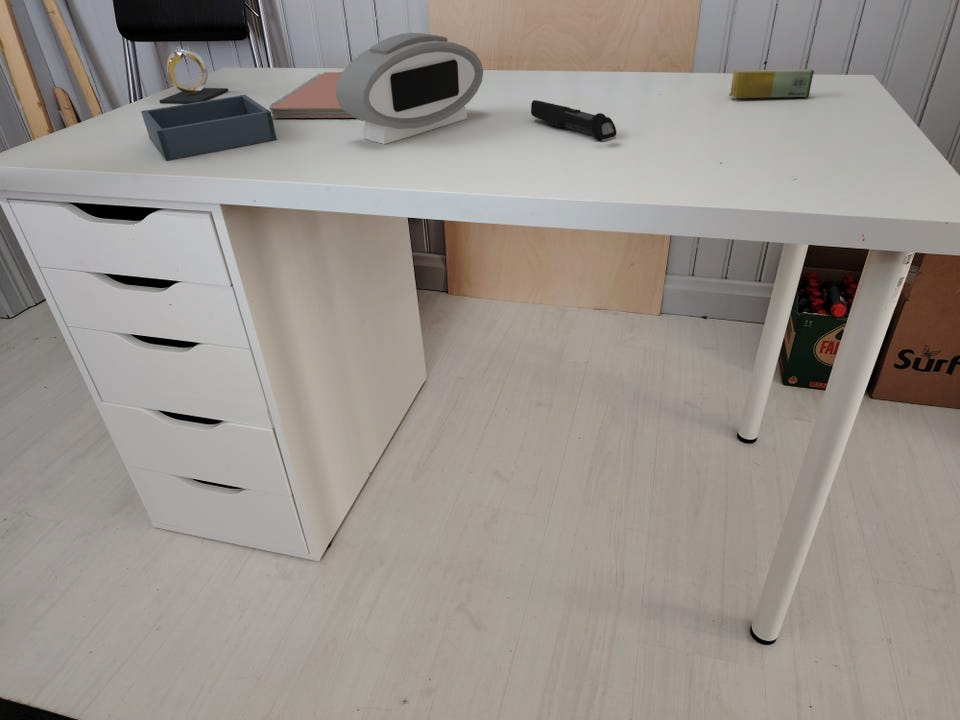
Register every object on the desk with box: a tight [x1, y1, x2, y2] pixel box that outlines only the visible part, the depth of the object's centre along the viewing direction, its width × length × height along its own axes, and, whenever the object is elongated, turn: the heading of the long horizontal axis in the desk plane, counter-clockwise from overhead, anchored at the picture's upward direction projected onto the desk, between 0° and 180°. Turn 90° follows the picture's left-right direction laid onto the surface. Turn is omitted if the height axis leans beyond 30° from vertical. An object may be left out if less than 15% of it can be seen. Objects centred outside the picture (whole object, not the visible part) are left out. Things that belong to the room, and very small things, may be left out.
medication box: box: [728, 68, 815, 99], centre depth 103 cm, size 12×3×4 cm, turn 89°
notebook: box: [269, 71, 356, 119], centre depth 114 cm, size 27×17×2 cm, turn 173°
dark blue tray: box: [140, 94, 277, 162], centre depth 96 cm, size 16×14×4 cm
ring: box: [166, 46, 209, 94], centre depth 118 cm, size 7×3×8 cm, turn 132°
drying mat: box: [158, 87, 229, 105], centre depth 120 cm, size 10×8×1 cm
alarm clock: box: [336, 32, 484, 145], centre depth 94 cm, size 23×6×13 cm, turn 136°
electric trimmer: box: [530, 99, 618, 142], centre depth 94 cm, size 4×16×3 cm, turn 38°
